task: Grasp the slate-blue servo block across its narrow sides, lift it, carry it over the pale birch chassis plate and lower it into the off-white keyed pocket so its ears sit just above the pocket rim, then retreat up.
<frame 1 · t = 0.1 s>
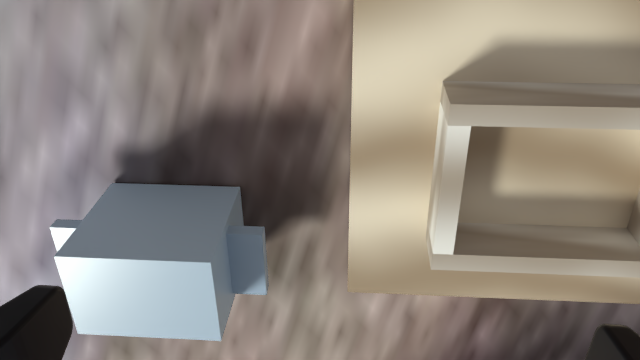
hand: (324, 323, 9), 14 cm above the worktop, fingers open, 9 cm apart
chassis pocket: (541, 156, 23), on the worktop
servo: (181, 221, 26), on the worktop
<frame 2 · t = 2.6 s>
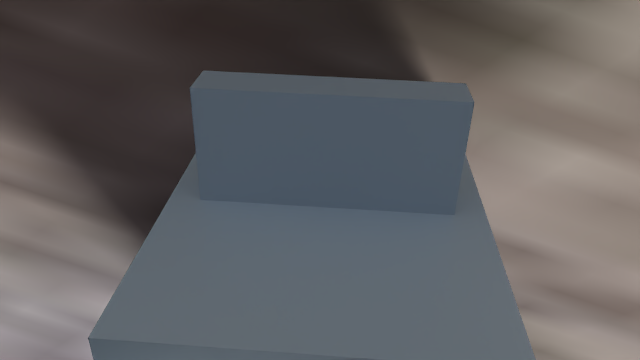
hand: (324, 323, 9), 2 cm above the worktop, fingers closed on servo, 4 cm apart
servo: (330, 249, 11), on the worktop, touching gripper
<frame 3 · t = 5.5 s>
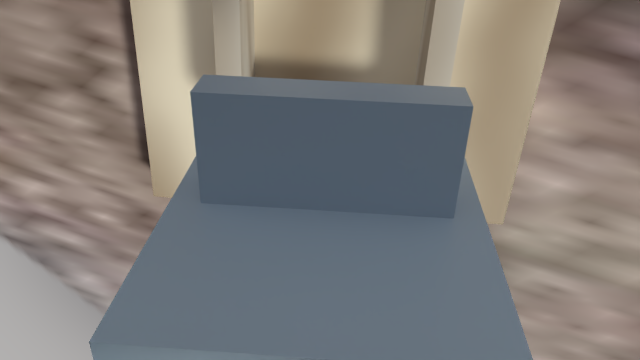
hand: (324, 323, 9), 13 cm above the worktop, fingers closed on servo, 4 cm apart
servo: (330, 251, 11), point 11 cm above the worktop, touching gripper
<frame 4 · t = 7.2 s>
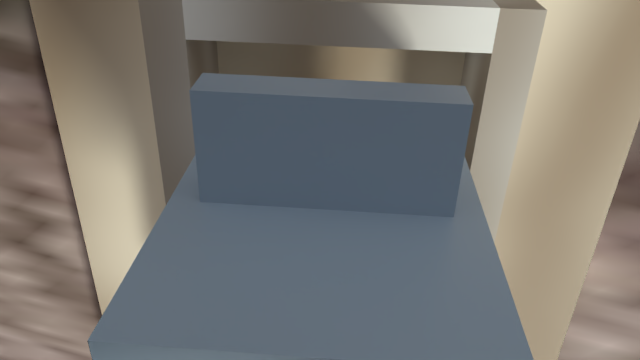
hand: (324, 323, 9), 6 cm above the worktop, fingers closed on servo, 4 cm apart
chassis pocket: (336, 150, 15), on the worktop
servo: (330, 250, 11), point 4 cm above the worktop, touching gripper
when the fingers open (4 cm above the worktop, at t = 8.5 s): servo drops 1 cm, resting on chassis pocket.
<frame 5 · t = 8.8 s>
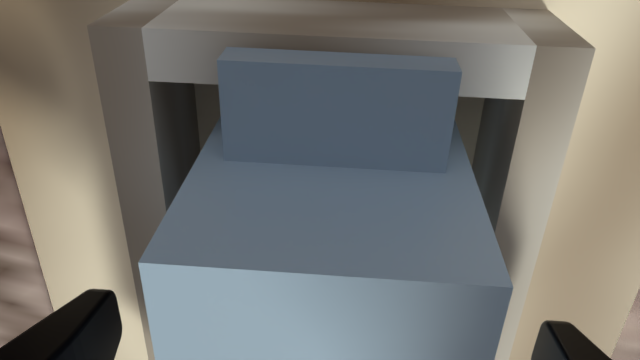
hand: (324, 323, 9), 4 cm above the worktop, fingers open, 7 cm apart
chassis pocket: (334, 193, 13), on the worktop
servo: (335, 219, 12), point 1 cm above the worktop, touching chassis pocket
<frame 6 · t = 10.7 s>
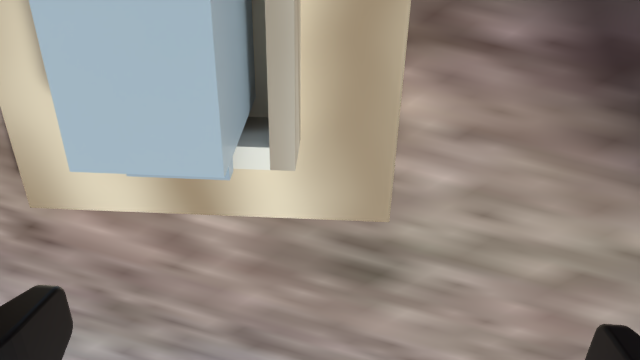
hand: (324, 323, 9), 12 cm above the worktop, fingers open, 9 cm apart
servo: (188, 5, 17), point 1 cm above the worktop, touching chassis pocket
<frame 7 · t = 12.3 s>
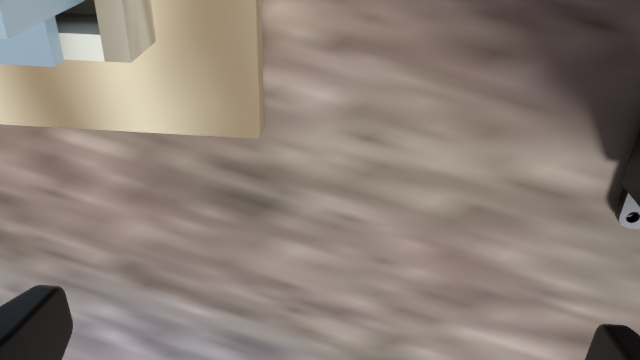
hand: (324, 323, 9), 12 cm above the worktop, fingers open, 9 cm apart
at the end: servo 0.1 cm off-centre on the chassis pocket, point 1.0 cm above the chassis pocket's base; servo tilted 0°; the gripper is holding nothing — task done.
